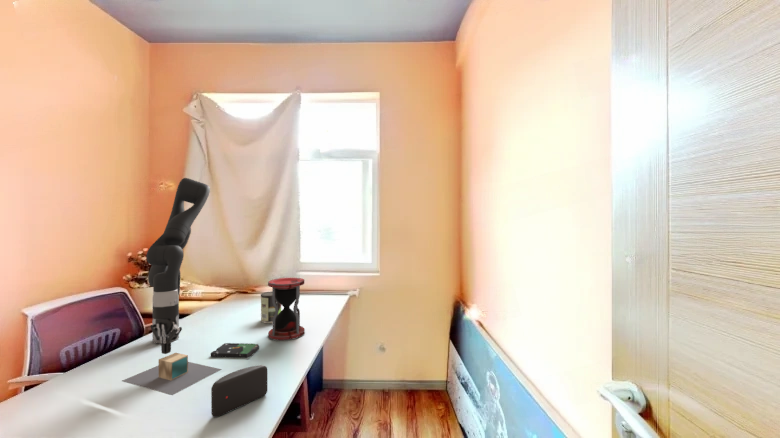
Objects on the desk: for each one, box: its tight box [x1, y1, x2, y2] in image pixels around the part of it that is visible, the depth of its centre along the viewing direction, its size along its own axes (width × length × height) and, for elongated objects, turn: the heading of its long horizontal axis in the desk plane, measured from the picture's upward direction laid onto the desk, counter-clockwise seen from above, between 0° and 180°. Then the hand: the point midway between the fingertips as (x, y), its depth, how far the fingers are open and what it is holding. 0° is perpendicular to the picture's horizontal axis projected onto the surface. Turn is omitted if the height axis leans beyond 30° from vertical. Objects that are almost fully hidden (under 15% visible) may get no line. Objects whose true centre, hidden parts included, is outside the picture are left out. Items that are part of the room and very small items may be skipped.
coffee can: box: [260, 291, 282, 324], centre depth 174 cm, size 10×10×14 cm
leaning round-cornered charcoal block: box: [210, 364, 268, 418], centre depth 97 cm, size 16×5×9 cm, turn 140°
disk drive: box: [210, 342, 260, 360], centre depth 132 cm, size 10×3×15 cm
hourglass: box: [267, 277, 306, 341], centre depth 153 cm, size 16×16×25 cm
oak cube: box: [158, 352, 189, 380], centre depth 113 cm, size 6×6×6 cm
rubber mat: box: [121, 361, 222, 396], centre depth 113 cm, size 24×18×1 cm
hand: (166, 352), depth 115 cm, fingers closed
